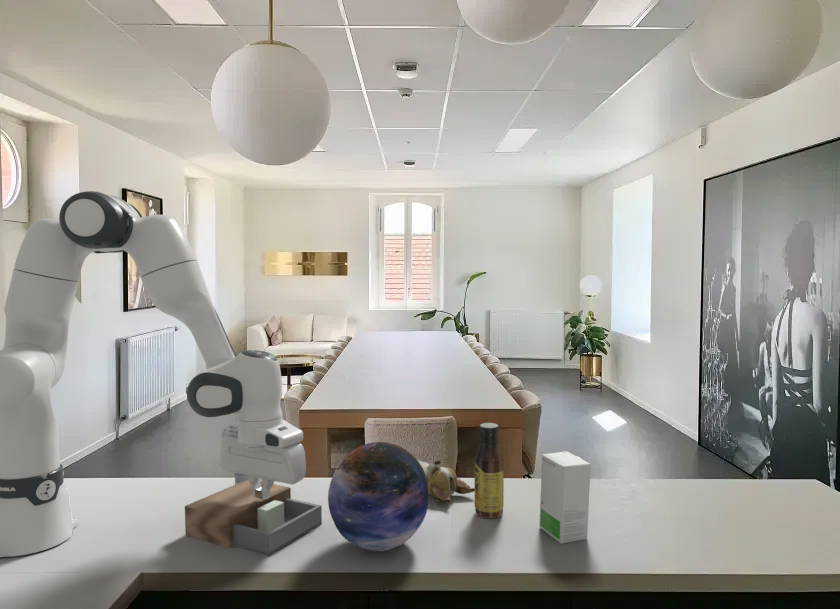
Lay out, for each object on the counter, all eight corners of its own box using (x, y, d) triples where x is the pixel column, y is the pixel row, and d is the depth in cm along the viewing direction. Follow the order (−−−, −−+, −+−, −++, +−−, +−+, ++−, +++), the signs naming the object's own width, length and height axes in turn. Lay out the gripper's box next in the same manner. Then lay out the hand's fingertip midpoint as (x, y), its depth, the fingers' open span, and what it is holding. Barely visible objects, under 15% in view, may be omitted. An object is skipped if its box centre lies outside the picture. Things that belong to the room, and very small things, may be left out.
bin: (233, 545, 120) (233, 525, 120) (288, 516, 134) (287, 498, 134) (269, 555, 116) (269, 534, 116) (321, 524, 130) (321, 505, 130)
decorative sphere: (307, 557, 115) (306, 451, 114) (363, 518, 133) (363, 426, 132) (398, 580, 107) (398, 465, 105) (445, 535, 125) (445, 436, 123)
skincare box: (538, 528, 128) (539, 453, 127) (566, 523, 130) (566, 450, 129) (562, 545, 120) (562, 465, 119) (590, 539, 122) (591, 461, 121)
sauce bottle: (478, 507, 139) (478, 419, 138) (506, 510, 137) (506, 421, 136) (470, 518, 133) (471, 426, 132) (499, 522, 131) (500, 429, 129)
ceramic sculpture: (431, 448, 154) (479, 465, 144) (430, 481, 155) (477, 501, 145) (401, 458, 146) (449, 476, 136) (400, 493, 147) (447, 514, 137)
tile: (257, 508, 124) (266, 510, 123) (274, 500, 128) (284, 502, 127) (257, 532, 124) (267, 535, 123) (275, 523, 129) (284, 526, 128)
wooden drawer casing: (185, 535, 125) (184, 506, 124) (249, 504, 141) (248, 478, 140) (229, 547, 119) (229, 517, 119) (291, 514, 135) (290, 487, 135)
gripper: (211, 428, 128) (212, 494, 129) (289, 440, 118) (290, 511, 119) (233, 421, 133) (235, 484, 134) (309, 433, 124) (310, 500, 125)
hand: (261, 497), depth 127 cm, fingers closed
